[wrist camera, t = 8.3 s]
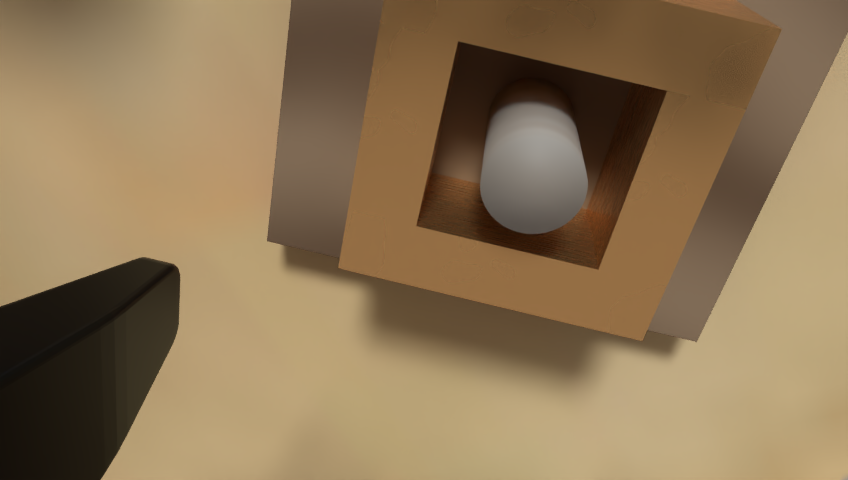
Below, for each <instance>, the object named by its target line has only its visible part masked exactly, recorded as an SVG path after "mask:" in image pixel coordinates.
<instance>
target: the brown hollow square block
mask: <svg viewBox="0 0 848 480" xmlns="http://www.w3.org/2000/svg"><path fill="white" fill-rule="evenodd" d="M781 30H782V29H781V28H780V27H778V26H777V25H775V24H773V23H772V22H770V21H769V20H767V19H765V18H764V17H762V16H761V15H759V14H757V13H756V12H754V11H753V10H751V9H749V8H748V7H746V6H745V5H743V4H741V3H740V2H738V1H737V0H384V1H383V7H382V13H381V19H380V25H379V31H378V36H377V42H376V48H375V54H374V60H373V66H372V72H371V78H370V84H369V89H368V95H367V101H366V107H365V113H364V119H363V125H362V131H361V136H360V142H359V148H358V154H357V160H356V166H355V172H354V178H353V184H352V189H351V195H350V201H349V207H348V213H347V219H346V225H345V231H344V237H343V242H342V248H341V254H340V260H339V266H338V268H339V269H343V270H347V271H352V272H356V273H360V274H364V275H368V276H372V277H377V278H381V279H385V280H389V281H393V282H397V283H402V284H406V285H410V286H414V287H418V288H422V289H427V290H431V291H435V292H439V293H443V294H447V295H452V296H456V297H460V298H464V299H468V300H472V301H477V302H481V303H485V304H489V305H493V306H497V307H502V308H506V309H510V310H514V311H518V312H522V313H527V314H531V315H535V316H539V317H543V318H547V319H552V320H556V321H560V322H564V323H568V324H572V325H577V326H581V327H585V328H589V329H593V330H597V331H602V332H606V333H610V334H614V335H618V336H622V337H627V338H631V339H635V340H639V341H643V338H644V336H645V334H646V332H647V330H648V327H649V325H650V323H651V321H652V318H653V316H654V314H655V312H656V309H657V307H658V305H659V303H660V301H661V298H662V296H663V294H664V292H665V289H666V287H667V285H668V283H669V280H670V278H671V276H672V274H673V272H674V269H675V267H676V265H677V263H678V260H679V258H680V256H681V254H682V251H683V249H684V247H685V245H686V243H687V240H688V238H689V236H690V234H691V231H692V229H693V227H694V225H695V222H696V220H697V218H698V216H699V213H700V211H701V209H702V207H703V205H704V202H705V200H706V198H707V196H708V193H709V191H710V189H711V187H712V184H713V182H714V180H715V178H716V176H717V173H718V171H719V169H720V167H721V164H722V162H723V160H724V158H725V155H726V153H727V151H728V149H729V147H730V144H731V142H732V140H733V138H734V135H735V133H736V131H737V129H738V126H739V124H740V122H741V120H742V118H743V115H744V113H745V111H746V109H747V106H748V104H749V102H750V100H751V97H752V95H753V93H754V91H755V88H756V86H757V84H758V82H759V80H760V77H761V75H762V73H763V71H764V68H765V66H766V64H767V62H768V59H769V57H770V55H771V53H772V51H773V48H774V46H775V44H776V42H777V39H778V37H779V35H780V33H781ZM461 42H464V43H468V44H472V45H476V46H481V47H485V48H489V49H493V50H497V51H502V52H506V53H510V54H514V55H518V56H523V57H527V58H531V59H535V60H540V61H544V62H548V63H552V64H556V65H561V66H565V67H569V68H573V69H577V70H582V71H586V72H590V73H594V74H599V75H603V76H607V77H611V78H615V79H620V80H624V81H628V82H632V84H631V87H630V89H629V92H628V95H627V98H626V101H625V103H624V106H623V109H622V112H621V115H620V117H619V120H618V123H617V126H616V129H615V131H614V134H613V137H612V140H611V142H610V145H609V148H608V151H607V154H606V156H605V159H604V162H603V165H602V168H601V170H600V173H599V176H598V179H597V182H596V184H595V187H594V190H593V193H592V196H591V198H590V201H589V204H588V207H587V209H583V208H581V209H580V210H579V212H578V213H577V214H576V215H575V216H574V217H573V218H572V219H571V220H570V221H569V222H568V223H566V224H565V225H563V226H562V227H560V228H558V229H555V230H553V231H550V232H546V233H540V234H526V233H520V232H516V231H513V230H511V229H508V228H506V227H505V226H503V225H501V224H500V223H499V222H497V221H496V220H495V219H494V218H493V217H492V216H491V215H490V213H489V212H488V211H487V209H486V207H485V205H484V203H483V200H482V197H481V191H480V184H478V183H474V182H470V181H466V180H461V179H457V178H453V177H449V176H445V175H441V174H436V173H432V168H433V164H434V159H435V155H436V151H437V146H438V142H439V137H440V133H441V129H442V124H443V120H444V116H445V111H446V107H447V102H448V98H449V94H450V89H451V85H452V81H453V76H454V72H455V68H456V63H457V59H458V54H459V50H460V46H461Z"/></svg>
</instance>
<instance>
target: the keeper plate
mask: <svg viewBox="0 0 848 480" xmlns="http://www.w3.org/2000/svg"><path fill="white" fill-rule="evenodd" d="M383 1H384V0H292V1H291V11H290V21H289V31H288V41H287V50H286V60H285V70H284V80H283V90H282V100H281V109H280V119H279V129H278V139H277V149H276V159H275V168H274V178H273V188H272V198H271V208H270V217H269V227H268V237H267V241H269V242H273V243H277V244H282V245H286V246H290V247H294V248H299V249H303V250H307V251H312V252H316V253H320V254H324V255H329V256H333V257H337V258H340V254H341V248H342V242H343V237H344V231H345V225H346V219H347V213H348V207H349V201H350V195H351V189H352V184H353V178H354V172H355V166H356V160H357V154H358V148H359V142H360V136H361V131H362V125H363V119H364V113H365V107H366V101H367V95H368V89H369V84H370V78H371V72H372V66H373V60H374V54H375V48H376V42H377V36H378V31H379V25H380V19H381V13H382V7H383ZM737 1H738V2H740V3H741V4H743V5H745V6H746V7H748V8H749V9H751V10H753V11H754V12H756V13H757V14H759V15H761V16H762V17H764V18H765V19H767V20H769V21H770V22H772V23H773V24H775V25H777V26H778V27H780V28H781V29H782V30H781V33H780V35H779V37H778V39H777V42H776V44H775V46H774V48H773V51H772V53H771V55H770V57H769V59H768V62H767V64H766V66H765V68H764V71H763V73H762V75H761V77H760V80H759V82H758V84H757V86H756V88H755V91H754V93H753V95H752V97H751V100H750V102H749V104H748V106H747V109H746V111H745V113H744V115H743V118H742V120H741V122H740V124H739V126H738V129H737V131H736V133H735V135H734V138H733V140H732V142H731V144H730V147H729V149H728V151H727V153H726V155H725V158H724V160H723V162H722V164H721V167H720V169H719V171H718V173H717V176H716V178H715V180H714V182H713V184H712V187H711V189H710V191H709V193H708V196H707V198H706V200H705V202H704V205H703V207H702V209H701V211H700V213H699V216H698V218H697V220H696V222H695V225H694V227H693V229H692V231H691V234H690V236H689V238H688V240H687V243H686V245H685V247H684V249H683V251H682V254H681V256H680V258H679V260H678V263H677V265H676V267H675V269H674V272H673V274H672V276H671V278H670V280H669V283H668V285H667V287H666V289H665V292H664V294H663V296H662V298H661V301H660V303H659V305H658V307H657V309H656V312H655V314H654V316H653V318H652V321H651V323H650V325H649V327H648V331H653V332H657V333H661V334H666V335H670V336H674V337H678V338H683V339H687V340H691V341H695V342H697V340H698V338H699V336H700V334H701V332H702V330H703V328H704V326H705V324H706V322H707V320H708V318H709V316H710V314H711V311H712V309H713V307H714V305H715V303H716V301H717V299H718V297H719V295H720V293H721V291H722V289H723V287H724V285H725V283H726V281H727V279H728V277H729V275H730V273H731V270H732V268H733V266H734V264H735V262H736V260H737V258H738V256H739V254H740V252H741V250H742V248H743V246H744V244H745V242H746V240H747V238H748V236H749V234H750V232H751V229H752V227H753V225H754V223H755V221H756V219H757V217H758V215H759V213H760V211H761V209H762V207H763V205H764V203H765V201H766V199H767V197H768V195H769V193H770V190H771V188H772V186H773V184H774V182H775V180H776V178H777V176H778V174H779V172H780V170H781V168H782V166H783V164H784V162H785V160H786V158H787V156H788V154H789V152H790V149H791V147H792V145H793V143H794V141H795V139H796V137H797V135H798V133H799V131H800V129H801V127H802V125H803V123H804V121H805V119H806V117H807V115H808V113H809V111H810V108H811V106H812V104H813V102H814V100H815V98H816V96H817V94H818V92H819V90H820V88H821V86H822V84H823V82H824V80H825V78H826V76H827V74H828V72H829V69H830V67H831V65H832V63H833V61H834V59H835V57H836V55H837V53H838V51H839V49H840V47H841V45H842V43H843V41H844V39H845V37H846V35H847V33H848V0H737ZM631 84H632V82H628V81H624V80H620V79H615V78H611V77H607V76H603V75H599V74H594V73H590V72H586V71H582V70H577V69H573V68H569V67H565V66H561V65H556V64H552V63H548V62H544V61H540V60H535V59H531V58H527V57H523V56H518V55H514V54H510V53H506V52H502V51H497V50H493V49H489V48H485V47H481V46H476V45H472V44H468V43H464V42H461V46H460V50H459V54H458V59H457V63H456V68H455V72H454V76H453V81H452V85H451V89H450V94H449V98H448V102H447V107H446V111H445V116H444V120H443V124H442V129H441V133H440V137H439V142H438V146H437V151H436V155H435V159H434V164H433V168H432V173H436V174H441V175H445V176H449V177H453V178H457V179H461V180H466V181H470V182H474V183H478V184H480V191H481V197H482V200H483V203H484V205H485V207H486V209H487V211H488V212H489V213H490V215H491V216H492V217H493V218H494V219H495V220H496V221H497V222H499V223H500V224H501V225H503V226H505V227H506V228H508V229H511V230H513V231H516V232H520V233H526V234H540V233H546V232H550V231H553V230H555V229H558V228H560V227H562V226H563V225H565V224H566V223H568V222H569V221H570V220H571V219H572V218H573V217H574V216H575V215H576V214H577V213H578V212H579V210H580V209H581V208H583V209H587V207H588V204H589V201H590V198H591V196H592V193H593V190H594V187H595V184H596V182H597V179H598V176H599V173H600V170H601V168H602V165H603V162H604V159H605V156H606V154H607V151H608V148H609V145H610V142H611V140H612V137H613V134H614V131H615V129H616V126H617V123H618V120H619V117H620V115H621V112H622V109H623V106H624V103H625V101H626V98H627V95H628V92H629V89H630V87H631Z"/></svg>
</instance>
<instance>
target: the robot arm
mask: <svg viewBox="0 0 848 480" xmlns="http://www.w3.org/2000/svg"><path fill="white" fill-rule="evenodd" d="M179 300H180V273H179V269H178V268H177V267H176V266H175V265H174V264H171V263H167V262H163V261H159V260H155V259H151V258H146V257H142V258H138V259H135V260H132V261H129V262H126V263H123V264H121V265H118V266H115V267H112V268H109V269H106V270H103V271H101V272H98V273H95V274H92V275H89V276H86V277H83V278H81V279H78V280H75V281H72V282H69V283H66V284H64V285H61V286H58V287H55V288H52V289H49V290H46V291H44V292H41V293H38V294H35V295H32V296H29V297H26V298H24V299H21V300H18V301H15V302H12V303H9V304H6V305H4V306H1V307H0V480H101V478H102V477H103V475H104V474H105V472H106V471H107V469H108V467H109V466H110V464H111V462H112V461H113V459H114V458H115V456H116V454H117V453H118V451H119V449H120V447H121V445H122V443H123V441H124V440H125V438H126V436H127V434H128V432H129V430H130V428H131V426H132V424H133V422H134V420H135V418H136V416H137V414H138V412H139V410H140V408H141V406H142V404H143V402H144V400H145V398H146V396H147V394H148V392H149V390H150V388H151V386H152V384H153V382H154V380H155V378H156V376H157V374H158V372H159V370H160V368H161V366H162V364H163V362H164V360H165V359H166V357H167V355H168V353H169V351H170V349H171V347H172V345H173V342H174V340H175V337H176V334H177V330H178V325H179Z"/></svg>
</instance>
